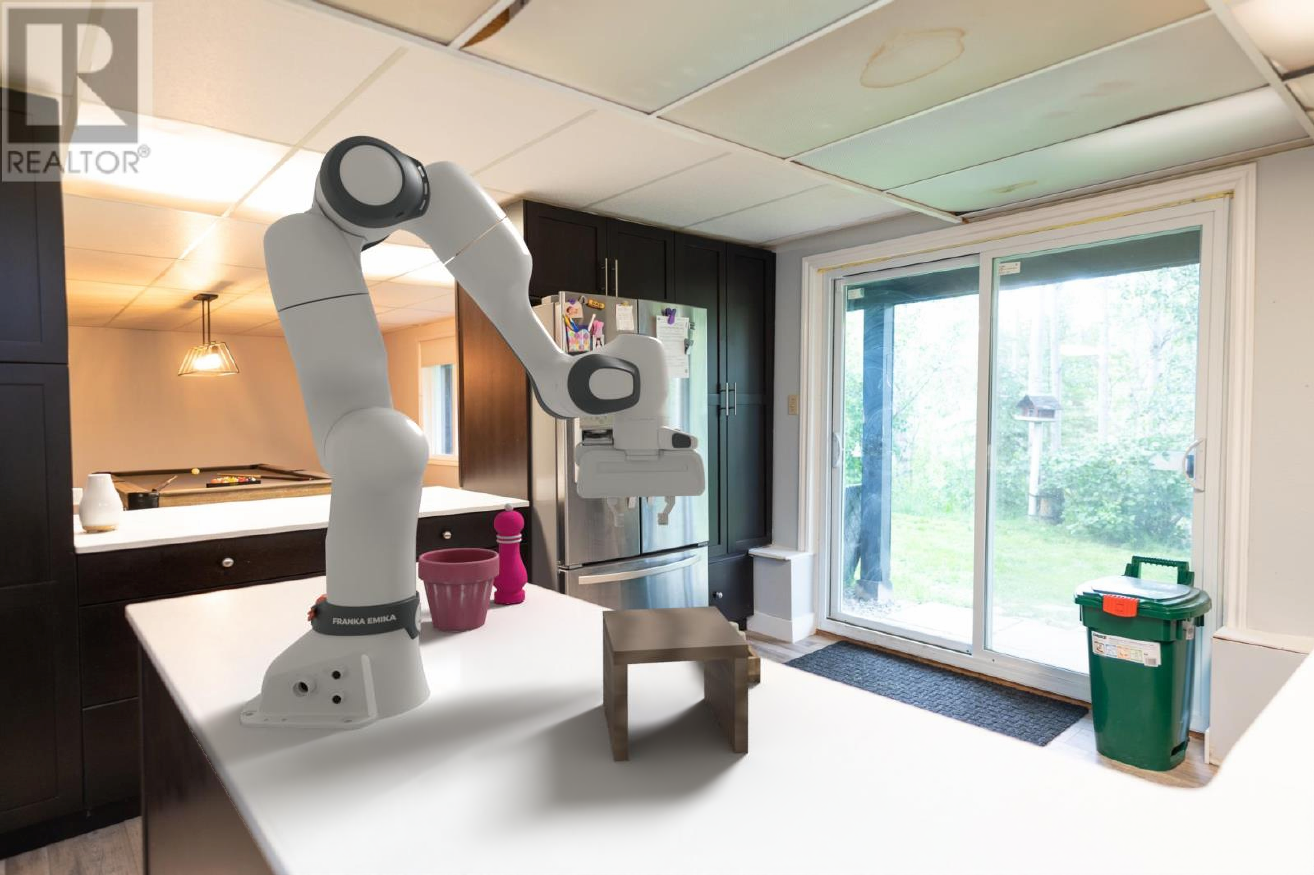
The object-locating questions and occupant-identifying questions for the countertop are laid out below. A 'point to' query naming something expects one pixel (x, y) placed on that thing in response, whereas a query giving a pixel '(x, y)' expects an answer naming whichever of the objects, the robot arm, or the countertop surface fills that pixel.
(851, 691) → the countertop surface
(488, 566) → the plant pot
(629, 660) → the brown wooden side table
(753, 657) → the teak tray
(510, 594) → the pepper mill
